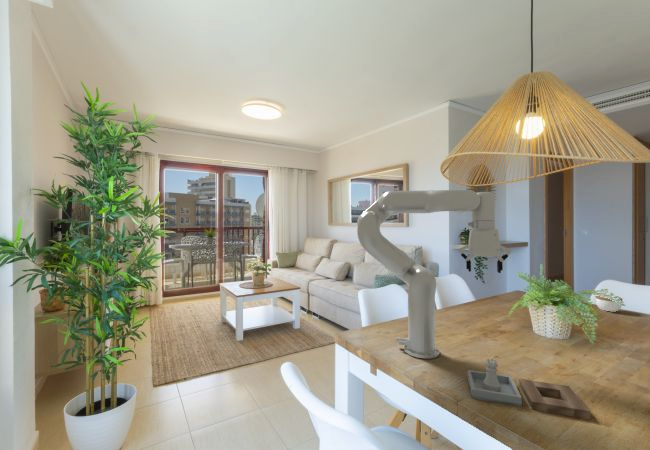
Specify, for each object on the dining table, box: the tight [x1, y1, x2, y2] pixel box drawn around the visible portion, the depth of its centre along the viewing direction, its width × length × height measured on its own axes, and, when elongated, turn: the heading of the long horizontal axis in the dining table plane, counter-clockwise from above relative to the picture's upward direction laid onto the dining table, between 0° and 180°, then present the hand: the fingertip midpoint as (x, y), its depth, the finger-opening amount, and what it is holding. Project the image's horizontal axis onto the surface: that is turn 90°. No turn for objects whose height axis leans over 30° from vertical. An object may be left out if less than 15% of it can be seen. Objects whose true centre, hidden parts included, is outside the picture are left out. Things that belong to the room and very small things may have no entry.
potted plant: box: [594, 296, 623, 313], centre depth 162 cm, size 11×11×9 cm
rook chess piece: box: [483, 358, 501, 392], centre depth 85 cm, size 4×4×8 cm
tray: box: [467, 369, 523, 408], centre depth 85 cm, size 12×12×2 cm
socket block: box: [518, 378, 591, 420], centre depth 80 cm, size 12×12×2 cm
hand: (484, 271), depth 110 cm, fingers open, 9 cm apart
